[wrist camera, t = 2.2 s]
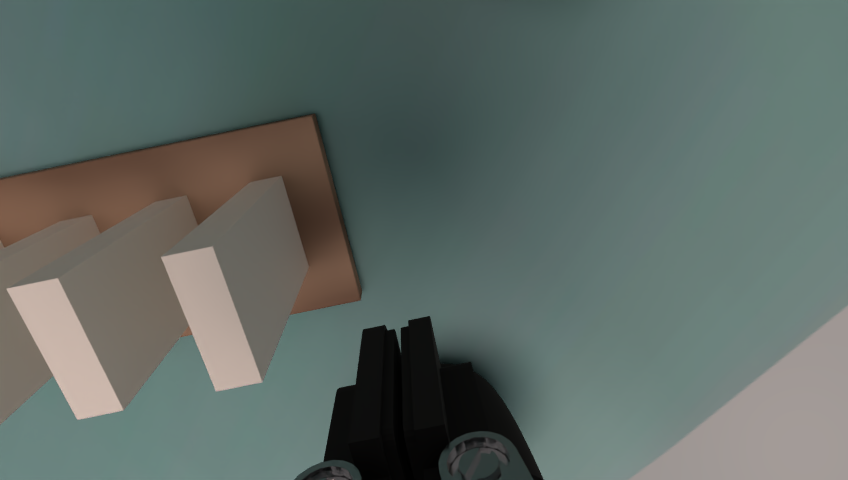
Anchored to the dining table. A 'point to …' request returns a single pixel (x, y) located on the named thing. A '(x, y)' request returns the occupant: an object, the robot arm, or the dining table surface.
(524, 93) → the dining table surface
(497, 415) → the mug
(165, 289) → the tile
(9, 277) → the tile
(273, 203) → the tile
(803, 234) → the dining table surface
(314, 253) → the brown flat slab
